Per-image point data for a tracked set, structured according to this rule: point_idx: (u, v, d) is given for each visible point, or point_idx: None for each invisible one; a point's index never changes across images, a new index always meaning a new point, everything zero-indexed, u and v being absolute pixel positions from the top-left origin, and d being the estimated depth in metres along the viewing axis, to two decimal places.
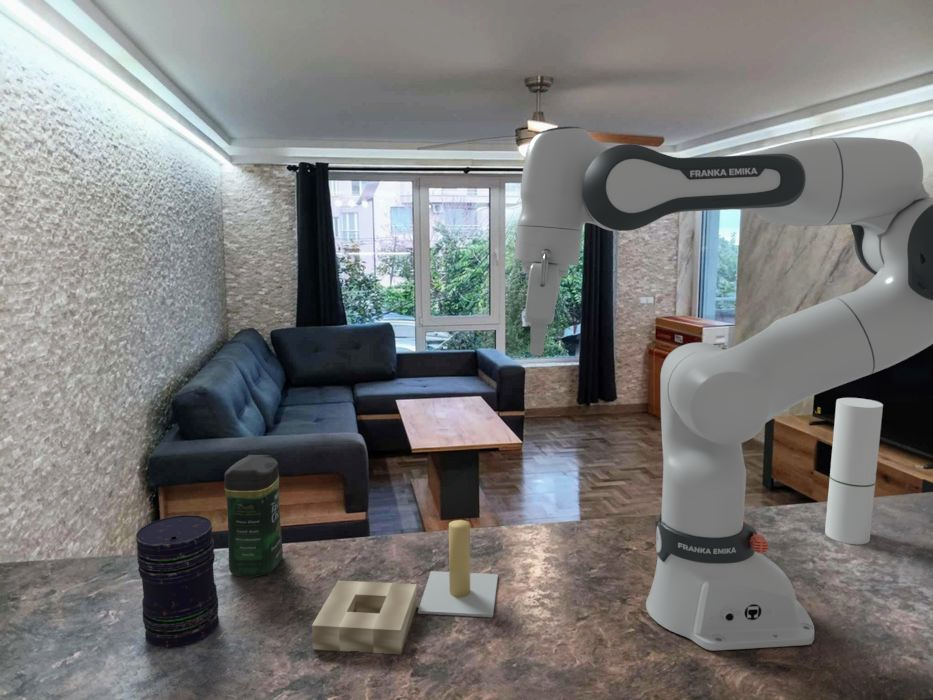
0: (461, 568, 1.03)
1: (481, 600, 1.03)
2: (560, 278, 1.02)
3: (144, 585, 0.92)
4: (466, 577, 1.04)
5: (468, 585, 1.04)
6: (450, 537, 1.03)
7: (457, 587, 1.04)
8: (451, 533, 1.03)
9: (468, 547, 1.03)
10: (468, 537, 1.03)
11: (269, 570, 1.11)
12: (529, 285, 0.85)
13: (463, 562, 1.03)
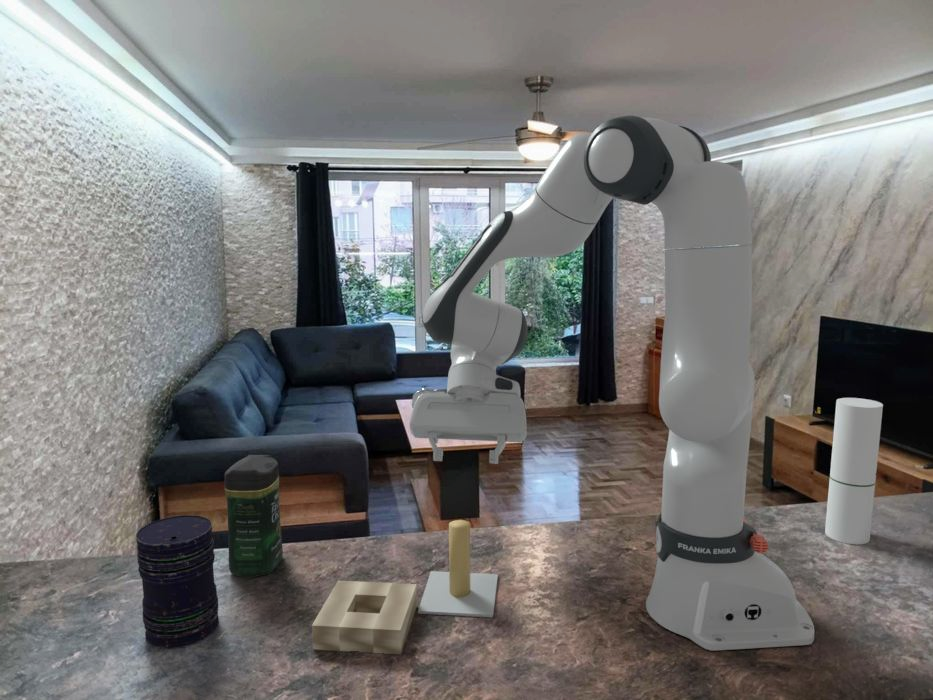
0: (462, 568, 1.03)
1: (481, 600, 1.03)
2: (516, 405, 1.17)
3: (144, 585, 0.92)
4: (466, 577, 1.04)
5: (468, 585, 1.04)
6: (450, 537, 1.03)
7: (457, 587, 1.04)
8: (452, 533, 1.03)
9: (469, 547, 1.03)
10: (468, 537, 1.03)
11: (269, 570, 1.11)
12: None
13: (463, 561, 1.03)
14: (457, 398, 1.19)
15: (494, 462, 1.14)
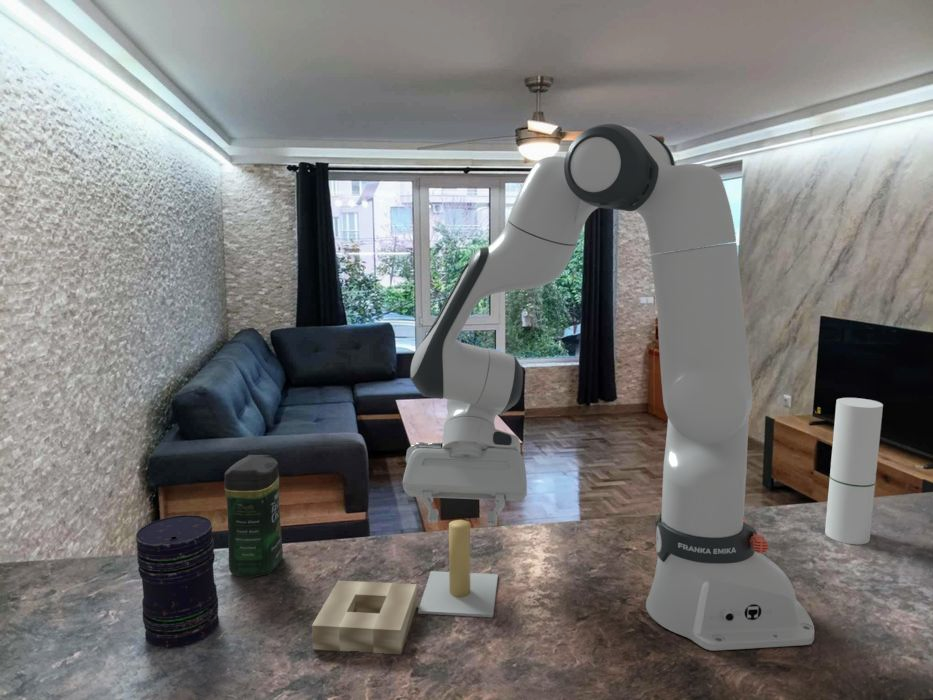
0: (462, 568, 1.03)
1: (481, 600, 1.03)
2: (515, 461, 1.11)
3: (144, 585, 0.92)
4: (466, 577, 1.04)
5: (468, 585, 1.04)
6: (450, 537, 1.03)
7: (457, 587, 1.04)
8: (452, 533, 1.03)
9: (469, 546, 1.03)
10: (468, 537, 1.03)
11: (269, 570, 1.11)
12: None
13: (463, 561, 1.03)
14: (453, 454, 1.12)
15: (492, 524, 1.07)
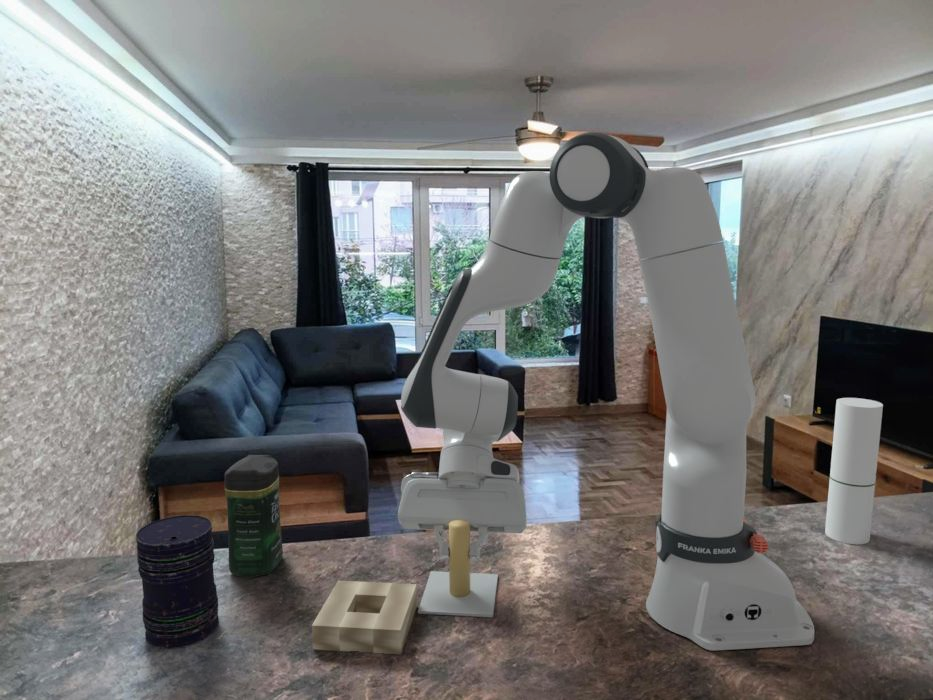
0: (461, 568, 1.03)
1: (481, 600, 1.03)
2: (514, 492, 1.07)
3: (144, 585, 0.92)
4: (466, 577, 1.04)
5: (468, 585, 1.04)
6: (450, 537, 1.03)
7: (457, 587, 1.04)
8: (451, 533, 1.03)
9: (468, 546, 1.03)
10: (468, 537, 1.03)
11: (269, 570, 1.11)
12: None
13: (463, 561, 1.03)
14: (450, 485, 1.08)
15: (475, 558, 1.04)
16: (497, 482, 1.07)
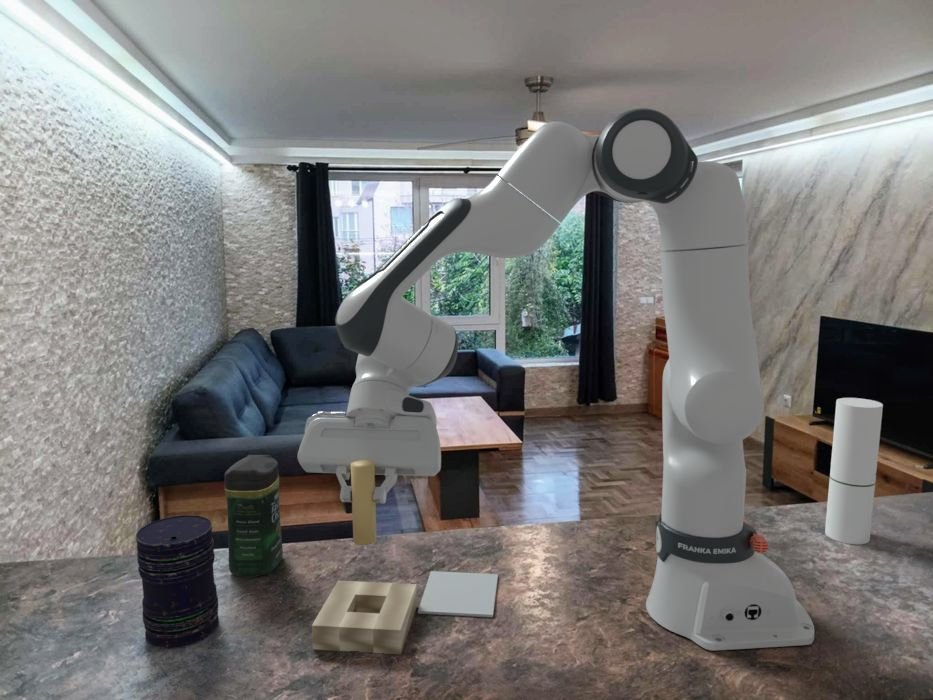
0: (364, 512, 0.93)
1: (481, 600, 1.03)
2: (427, 430, 0.96)
3: (144, 585, 0.92)
4: (370, 523, 0.93)
5: (373, 532, 0.94)
6: (352, 478, 0.92)
7: (360, 534, 0.93)
8: (353, 473, 0.92)
9: (373, 489, 0.93)
10: (372, 478, 0.93)
11: (269, 570, 1.11)
12: None
13: (366, 505, 0.92)
14: (356, 423, 0.98)
15: (380, 502, 0.93)
16: (408, 420, 0.97)
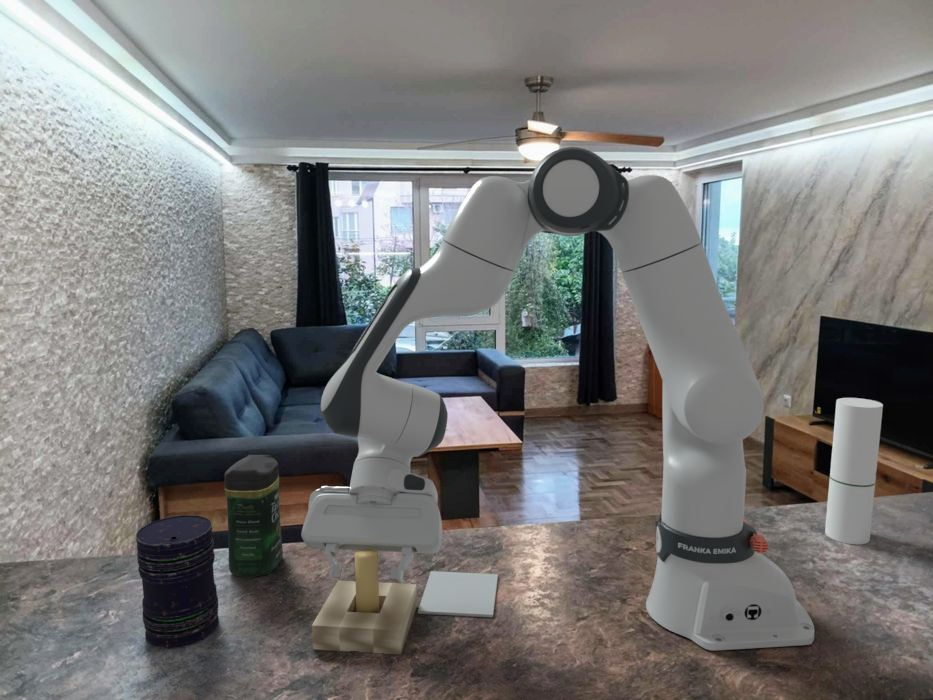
0: (368, 601, 0.95)
1: (481, 600, 1.03)
2: (428, 509, 0.98)
3: (144, 585, 0.92)
4: (373, 611, 0.95)
5: None
6: (355, 568, 0.95)
7: None
8: (357, 563, 0.94)
9: (376, 578, 0.95)
10: (375, 568, 0.95)
11: (269, 570, 1.11)
12: None
13: (369, 594, 0.95)
14: (359, 501, 1.00)
15: (397, 582, 0.95)
16: (410, 498, 0.99)
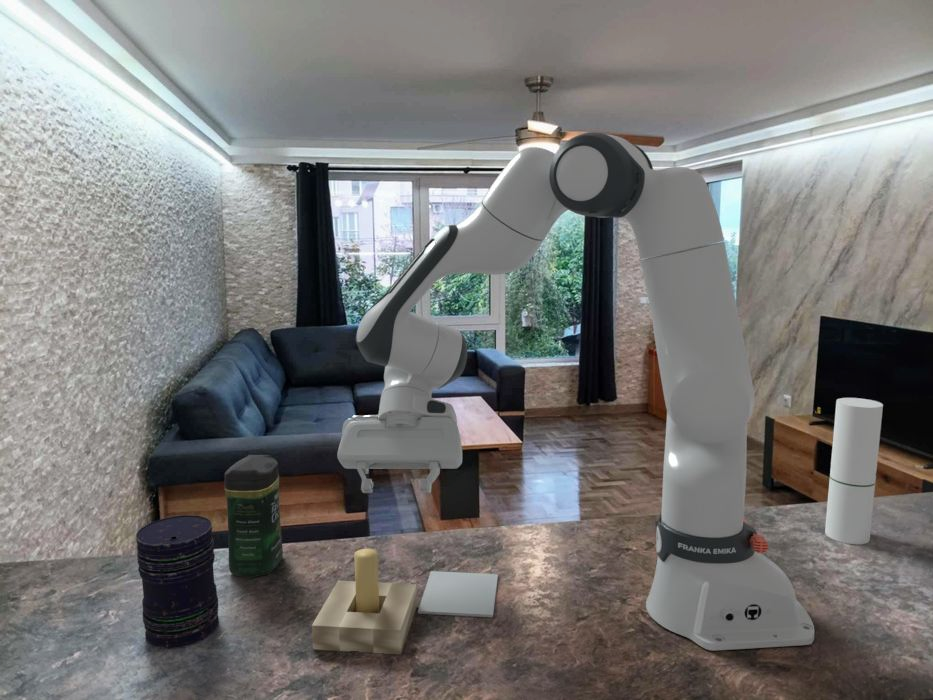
0: (368, 601, 0.95)
1: (481, 600, 1.03)
2: (449, 429, 1.10)
3: (144, 585, 0.92)
4: (373, 611, 0.95)
5: None
6: (355, 568, 0.95)
7: None
8: (356, 563, 0.94)
9: (376, 578, 0.95)
10: (375, 568, 0.95)
11: (269, 570, 1.11)
12: None
13: (369, 594, 0.95)
14: (387, 424, 1.12)
15: (426, 491, 1.07)
16: (433, 420, 1.11)
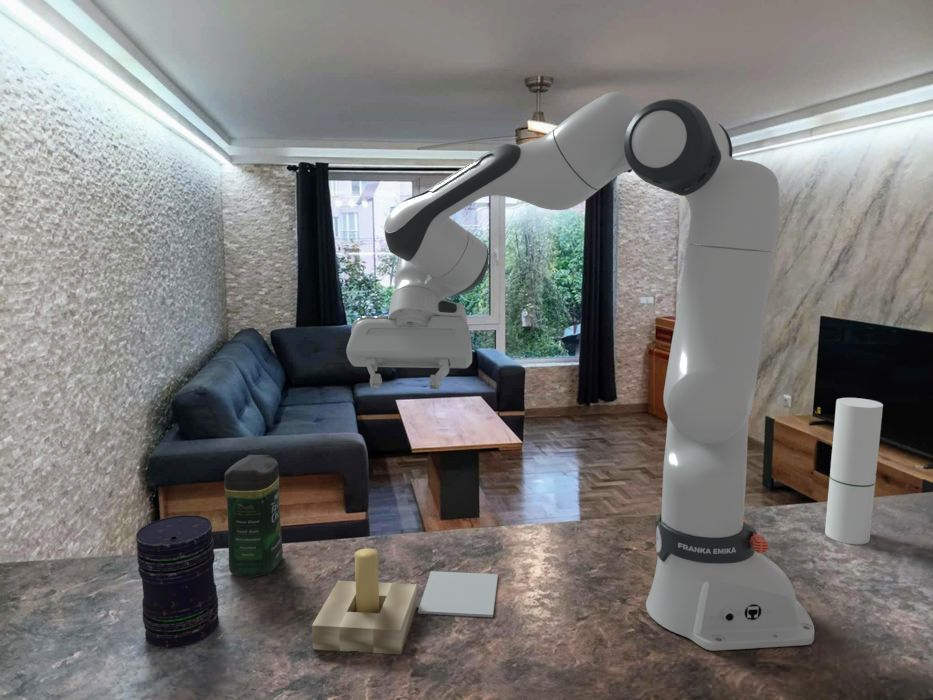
0: (368, 601, 0.95)
1: (481, 600, 1.03)
2: (460, 328, 1.09)
3: (144, 585, 0.92)
4: (373, 611, 0.95)
5: None
6: (355, 567, 0.95)
7: None
8: (357, 563, 0.94)
9: (376, 578, 0.95)
10: (375, 567, 0.95)
11: (269, 570, 1.11)
12: None
13: (369, 594, 0.95)
14: (398, 323, 1.11)
15: (435, 387, 1.06)
16: (444, 319, 1.10)
